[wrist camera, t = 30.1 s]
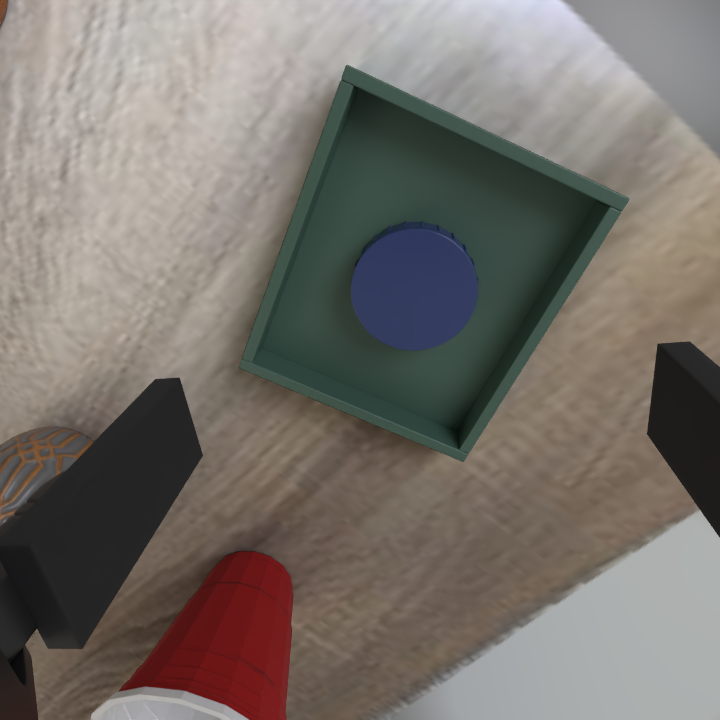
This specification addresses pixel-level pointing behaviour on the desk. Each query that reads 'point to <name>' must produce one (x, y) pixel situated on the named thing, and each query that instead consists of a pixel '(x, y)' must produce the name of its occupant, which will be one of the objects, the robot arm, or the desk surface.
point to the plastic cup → (218, 651)
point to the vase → (35, 463)
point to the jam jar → (2, 9)
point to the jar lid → (414, 286)
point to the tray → (436, 206)
